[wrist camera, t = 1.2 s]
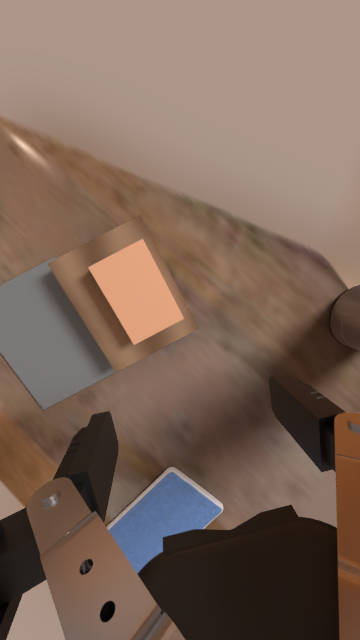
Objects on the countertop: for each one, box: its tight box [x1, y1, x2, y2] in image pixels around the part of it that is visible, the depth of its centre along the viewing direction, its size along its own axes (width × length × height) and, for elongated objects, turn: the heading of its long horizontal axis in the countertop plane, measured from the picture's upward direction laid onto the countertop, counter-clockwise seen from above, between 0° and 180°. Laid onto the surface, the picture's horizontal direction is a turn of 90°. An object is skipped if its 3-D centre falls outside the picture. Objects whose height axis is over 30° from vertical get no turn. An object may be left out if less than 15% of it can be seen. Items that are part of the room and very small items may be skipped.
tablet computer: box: [106, 467, 223, 574], centre depth 38 cm, size 19×13×1 cm, turn 135°
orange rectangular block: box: [88, 239, 184, 345], centre depth 25 cm, size 6×9×2 cm, turn 27°
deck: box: [47, 215, 198, 372], centre depth 29 cm, size 11×14×4 cm
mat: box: [0, 257, 115, 410], centre depth 30 cm, size 12×16×1 cm
